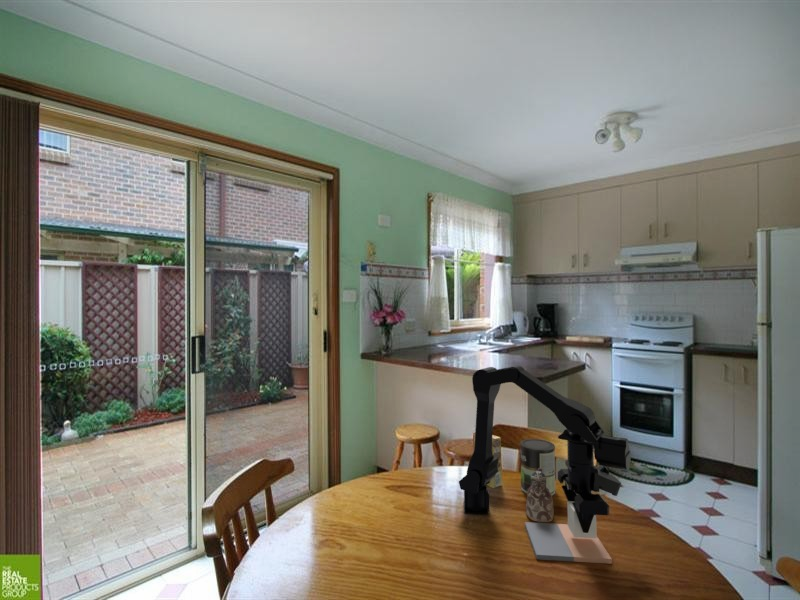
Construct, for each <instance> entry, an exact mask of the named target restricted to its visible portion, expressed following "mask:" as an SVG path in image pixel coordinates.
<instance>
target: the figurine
mask: <svg viewBox="0 0 800 600" xmlns="http://www.w3.org/2000/svg"><path fill="white" fill-rule="evenodd" d="M546 479H547V478H546V476H545V474H544V473H543V472H542V469H541V468H538V471H535V472H533V474H532V476H531V484H532V486H530V488H529V489H528V492H527V493H526V503H525V504H526V505H525V514H526V516H527V517H528V518H529V519H530V520H532V521H535V522H536V523H551V522H552V521H553V519H554V515H555V513H554V512H555V510H554V509H555V508H554V501H553V496H552V495H551V493H550V491H549V489H548V488H547V487H546Z"/></svg>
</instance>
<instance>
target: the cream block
mask: <svg viewBox="0 0 800 600" xmlns="http://www.w3.org/2000/svg"><path fill="white" fill-rule="evenodd" d="M566 502H567V503H566V504H567V507H566V508H567V524H568V527H569V529H570V531H571V533H572V534H573V536H574V537H580V538H597V537H598V536H597V534H598V533H597V532H598V531H597V515H594V517H593V520H592V523H591V526H590V529H589V532H588V533H584V532H583V531H582V528H581V526H580V523H579V520H578V517H577V515H576V512H575V509H574V507H573V504H572V503H575V501H568V500H567V501H566Z"/></svg>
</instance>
